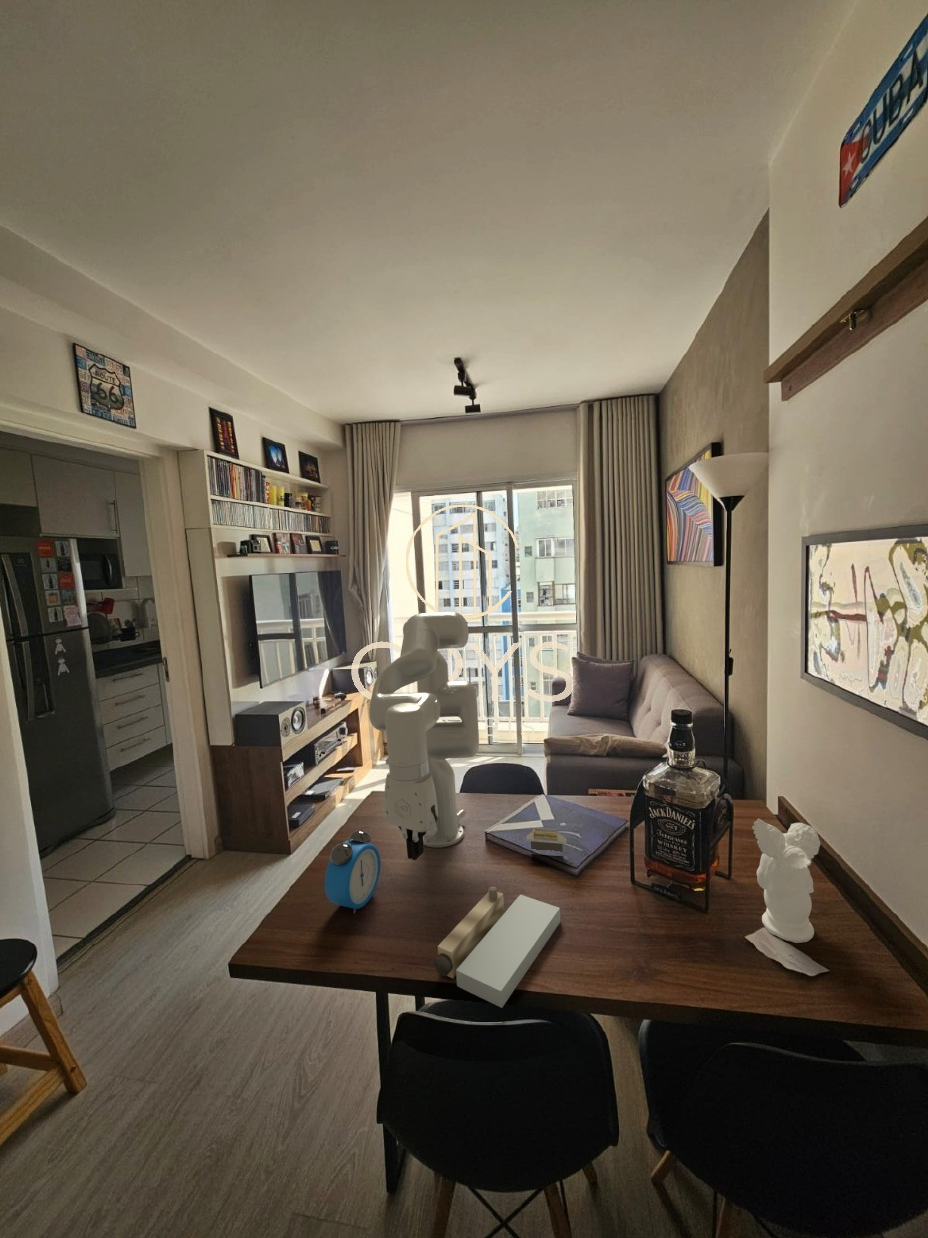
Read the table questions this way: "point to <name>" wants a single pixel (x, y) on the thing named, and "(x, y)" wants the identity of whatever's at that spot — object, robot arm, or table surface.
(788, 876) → the cherub figurine
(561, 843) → the platform
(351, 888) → the alarm clock
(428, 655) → the robot arm
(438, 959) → the hinged leg
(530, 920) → the rail
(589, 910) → the table surface
